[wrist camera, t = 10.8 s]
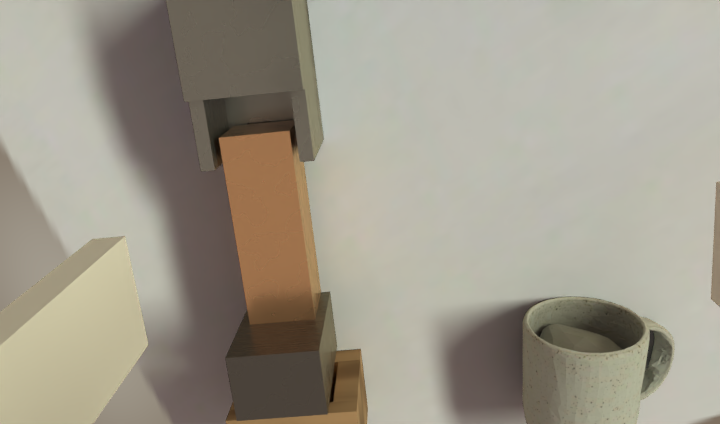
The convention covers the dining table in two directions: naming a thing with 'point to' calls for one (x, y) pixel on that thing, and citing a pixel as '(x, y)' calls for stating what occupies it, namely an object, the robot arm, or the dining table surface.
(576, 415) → the ceramic mug
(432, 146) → the dining table surface
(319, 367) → the tan wooden post
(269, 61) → the sleeve
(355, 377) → the socket
